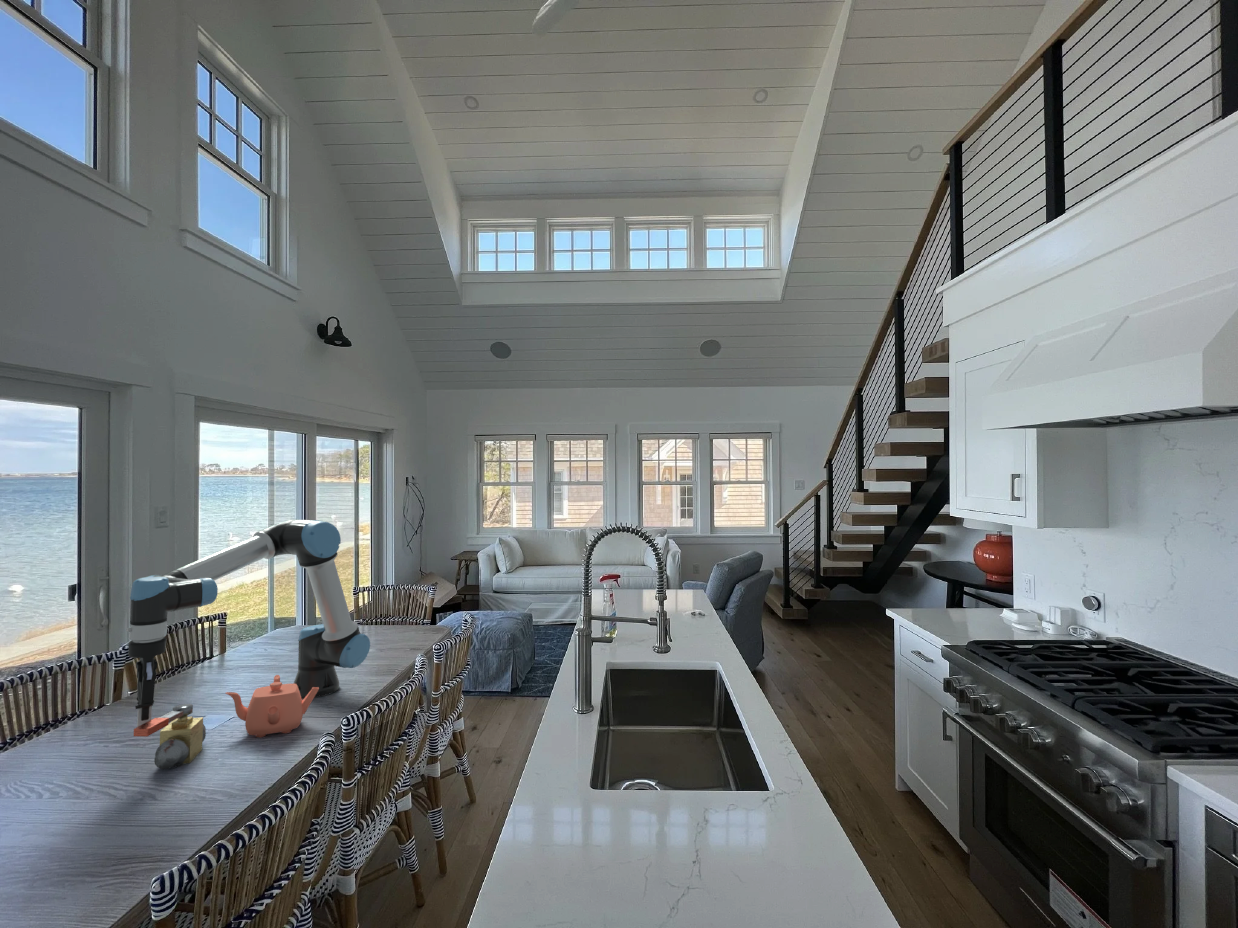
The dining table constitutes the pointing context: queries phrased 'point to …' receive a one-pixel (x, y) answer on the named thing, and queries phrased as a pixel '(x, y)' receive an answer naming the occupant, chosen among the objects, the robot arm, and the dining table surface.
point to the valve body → (180, 742)
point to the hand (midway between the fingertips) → (143, 731)
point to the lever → (163, 720)
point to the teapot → (273, 708)
